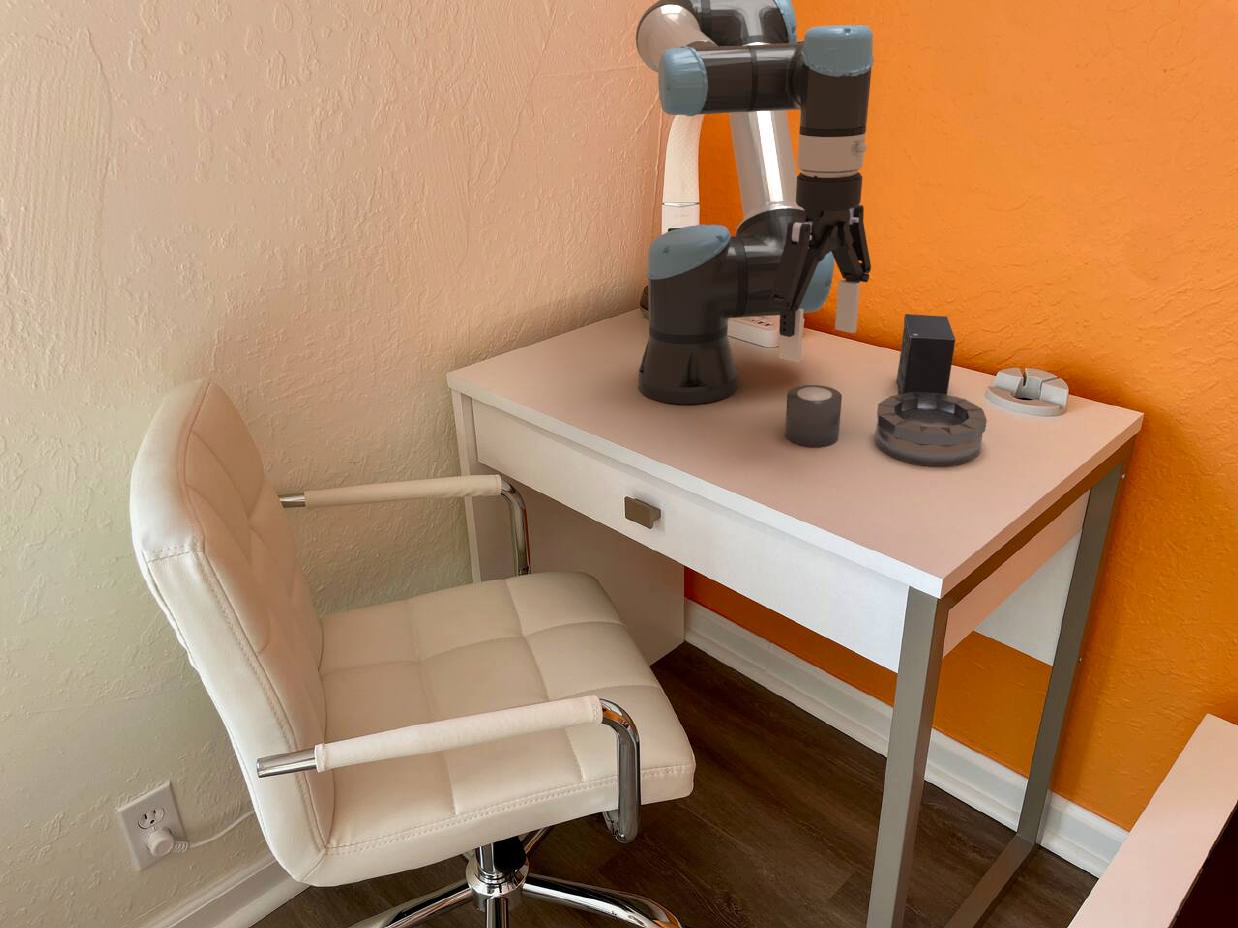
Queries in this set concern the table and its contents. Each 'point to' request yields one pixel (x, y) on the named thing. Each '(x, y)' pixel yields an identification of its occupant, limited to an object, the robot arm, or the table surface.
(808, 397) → the cap
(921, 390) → the small box
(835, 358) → the table surface
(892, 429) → the faceted ashtray
